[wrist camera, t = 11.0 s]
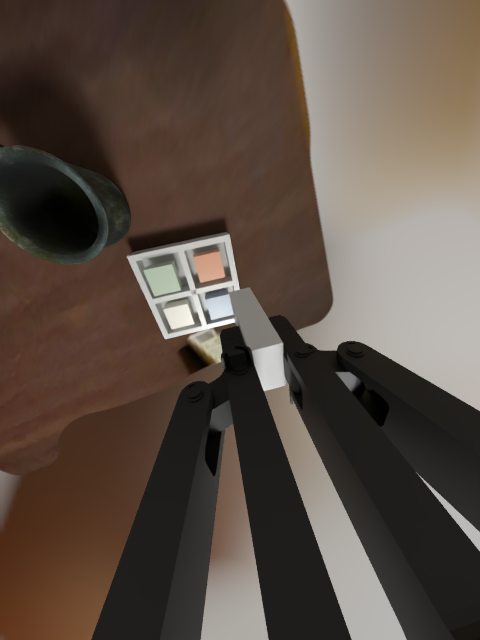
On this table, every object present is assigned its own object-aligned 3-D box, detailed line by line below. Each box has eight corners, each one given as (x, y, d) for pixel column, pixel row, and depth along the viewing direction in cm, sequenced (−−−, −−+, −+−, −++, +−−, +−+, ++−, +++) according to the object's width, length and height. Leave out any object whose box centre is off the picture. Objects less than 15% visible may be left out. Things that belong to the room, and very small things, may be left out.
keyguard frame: (167, 330, 44) (165, 339, 41) (132, 251, 35) (126, 256, 33) (242, 312, 45) (245, 319, 43) (226, 231, 37) (229, 234, 34)
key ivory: (173, 321, 43) (171, 329, 40) (165, 302, 40) (163, 309, 38) (194, 316, 43) (194, 324, 40) (188, 297, 40) (187, 303, 38)
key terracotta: (200, 277, 39) (200, 282, 36) (193, 253, 36) (192, 257, 34) (223, 272, 39) (225, 277, 37) (218, 247, 37) (219, 251, 34)
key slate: (210, 312, 43) (211, 320, 40) (204, 293, 41) (205, 299, 38) (231, 307, 43) (233, 314, 41) (227, 288, 41) (229, 294, 38)
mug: (113, 259, 36) (79, 283, 25) (11, 190, 29) (-91, 184, 19) (148, 209, 33) (126, 212, 23) (45, 119, 26) (-53, 66, 16)
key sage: (157, 289, 37) (154, 296, 34) (147, 265, 35) (143, 270, 32) (182, 284, 37) (181, 290, 35) (173, 259, 35) (171, 264, 32)
